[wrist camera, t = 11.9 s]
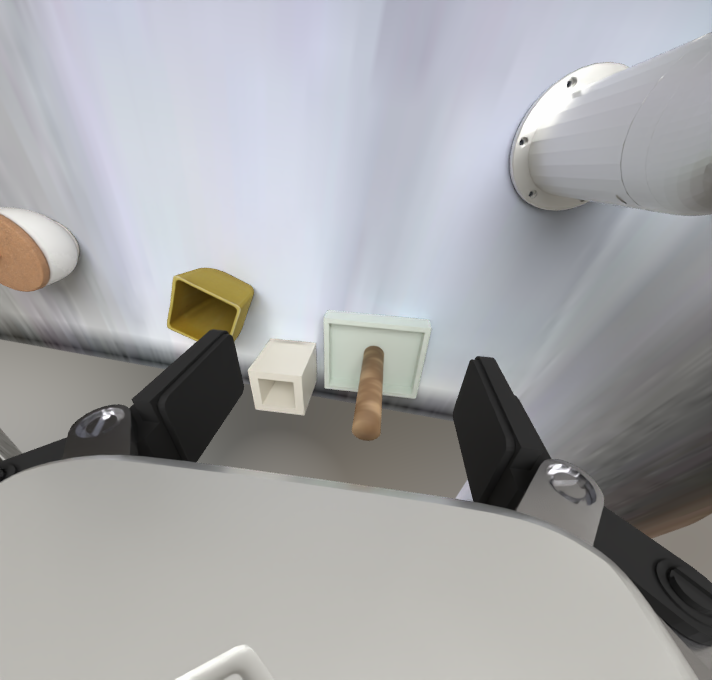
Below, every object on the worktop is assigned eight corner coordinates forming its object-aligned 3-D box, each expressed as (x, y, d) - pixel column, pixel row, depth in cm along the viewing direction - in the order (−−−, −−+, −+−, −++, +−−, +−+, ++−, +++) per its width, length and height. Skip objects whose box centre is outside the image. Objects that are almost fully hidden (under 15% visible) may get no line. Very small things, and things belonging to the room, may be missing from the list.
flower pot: (252, 325, 47) (225, 356, 39) (203, 301, 46) (165, 328, 38) (268, 282, 42) (241, 307, 35) (213, 254, 41) (173, 274, 33)
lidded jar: (84, 214, 40) (8, 225, 32) (102, 282, 46) (41, 305, 38) (9, 192, 40) (-87, 198, 32) (37, 263, 45) (-39, 284, 37)
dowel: (385, 346, 45) (381, 423, 32) (382, 363, 47) (379, 442, 33) (364, 344, 45) (352, 419, 32) (363, 361, 47) (351, 438, 34)
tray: (429, 319, 43) (431, 328, 40) (414, 387, 50) (415, 398, 48) (327, 309, 44) (323, 318, 41) (327, 378, 51) (324, 388, 49)
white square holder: (316, 343, 47) (301, 376, 40) (317, 378, 52) (304, 415, 44) (270, 338, 48) (247, 370, 40) (275, 374, 52) (255, 409, 44)
